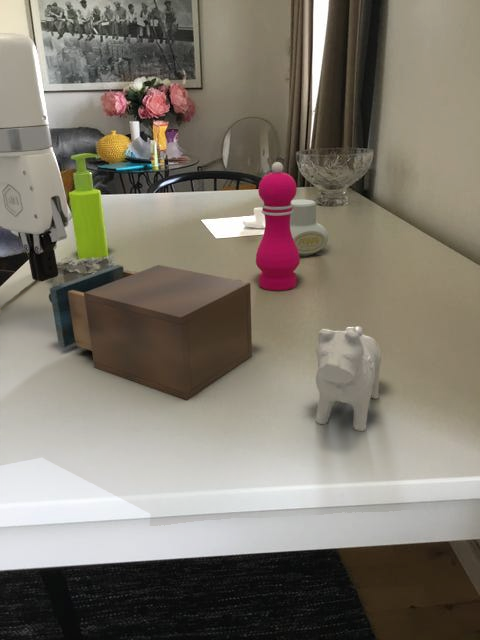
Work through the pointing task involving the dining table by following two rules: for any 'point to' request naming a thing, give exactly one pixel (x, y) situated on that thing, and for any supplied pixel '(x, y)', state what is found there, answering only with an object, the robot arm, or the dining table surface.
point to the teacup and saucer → (237, 225)
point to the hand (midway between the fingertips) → (45, 277)
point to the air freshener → (306, 228)
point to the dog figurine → (347, 372)
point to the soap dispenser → (87, 213)
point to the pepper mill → (277, 232)
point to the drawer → (79, 305)
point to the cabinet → (170, 328)
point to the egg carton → (80, 268)
